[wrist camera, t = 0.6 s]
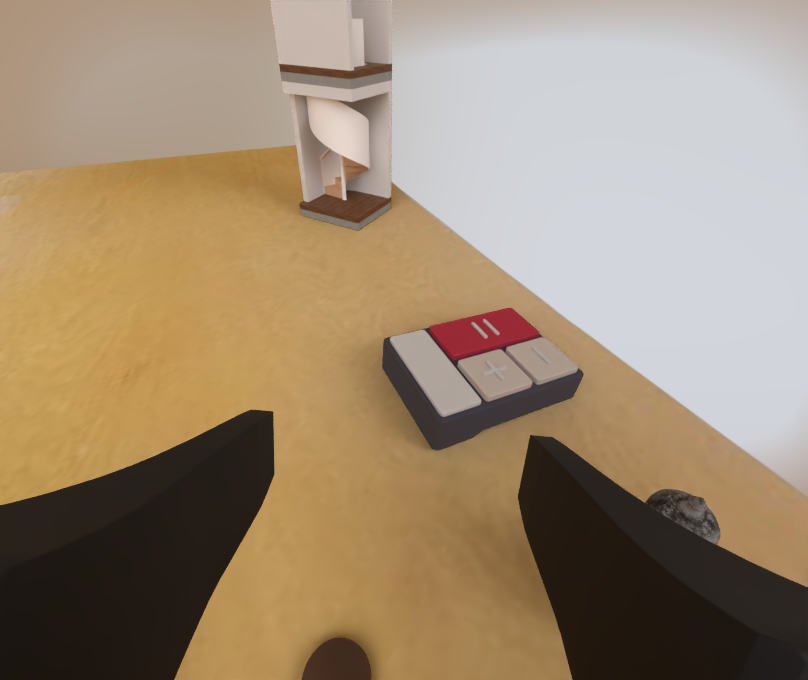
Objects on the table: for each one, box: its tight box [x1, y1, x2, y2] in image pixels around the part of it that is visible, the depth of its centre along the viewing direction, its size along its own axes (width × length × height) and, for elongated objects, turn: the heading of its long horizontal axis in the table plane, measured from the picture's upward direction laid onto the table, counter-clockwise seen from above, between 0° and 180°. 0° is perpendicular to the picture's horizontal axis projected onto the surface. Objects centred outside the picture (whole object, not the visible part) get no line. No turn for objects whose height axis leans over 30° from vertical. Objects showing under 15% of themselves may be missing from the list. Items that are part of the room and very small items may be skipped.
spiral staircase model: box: [270, 0, 392, 230], centre depth 58 cm, size 11×11×35 cm
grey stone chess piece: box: [645, 489, 720, 545], centre depth 21 cm, size 6×6×12 cm
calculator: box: [382, 308, 583, 450], centre depth 37 cm, size 11×4×15 cm
